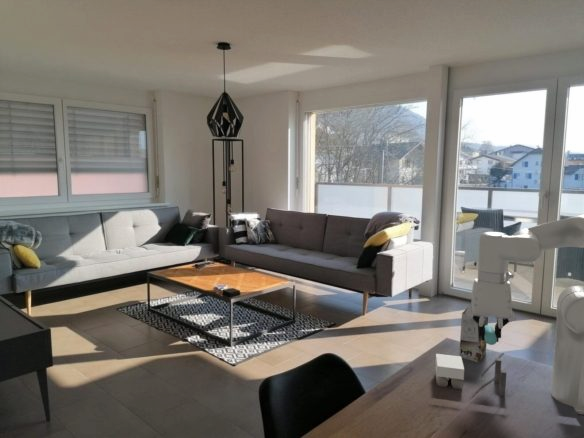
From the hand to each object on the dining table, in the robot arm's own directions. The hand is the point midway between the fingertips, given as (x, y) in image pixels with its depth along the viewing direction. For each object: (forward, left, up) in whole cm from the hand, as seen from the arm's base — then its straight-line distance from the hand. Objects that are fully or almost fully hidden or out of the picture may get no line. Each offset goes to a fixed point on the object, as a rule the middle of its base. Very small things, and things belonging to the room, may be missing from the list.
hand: (489, 338), depth 122 cm
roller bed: (+6, +3, -14) cm, 15 cm away
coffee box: (+2, -17, -14) cm, 22 cm away
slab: (+11, +3, -9) cm, 15 cm away
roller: (0, 0, +1) cm, 1 cm away
